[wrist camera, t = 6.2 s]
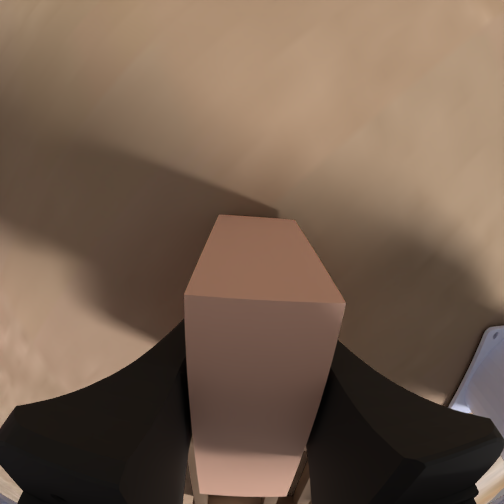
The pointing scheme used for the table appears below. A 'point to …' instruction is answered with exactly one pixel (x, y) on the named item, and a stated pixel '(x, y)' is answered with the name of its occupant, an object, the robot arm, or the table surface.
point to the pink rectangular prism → (257, 353)
